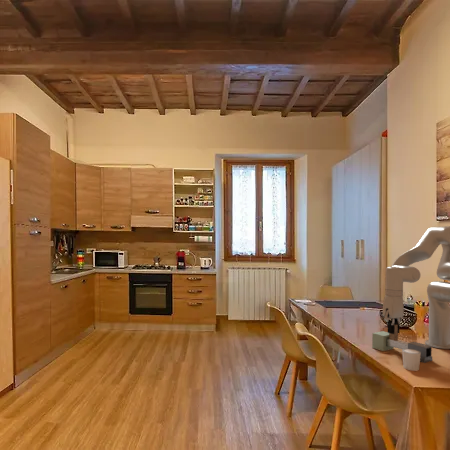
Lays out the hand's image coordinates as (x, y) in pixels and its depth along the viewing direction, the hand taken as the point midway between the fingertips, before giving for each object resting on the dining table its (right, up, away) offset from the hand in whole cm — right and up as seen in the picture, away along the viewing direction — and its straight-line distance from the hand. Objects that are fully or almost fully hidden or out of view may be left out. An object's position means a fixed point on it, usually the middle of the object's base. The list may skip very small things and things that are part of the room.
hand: (393, 332), depth 180 cm
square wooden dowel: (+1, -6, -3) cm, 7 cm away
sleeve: (+7, -9, -11) cm, 15 cm away
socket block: (-3, -9, +4) cm, 10 cm away
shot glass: (-3, -8, -23) cm, 24 cm away
